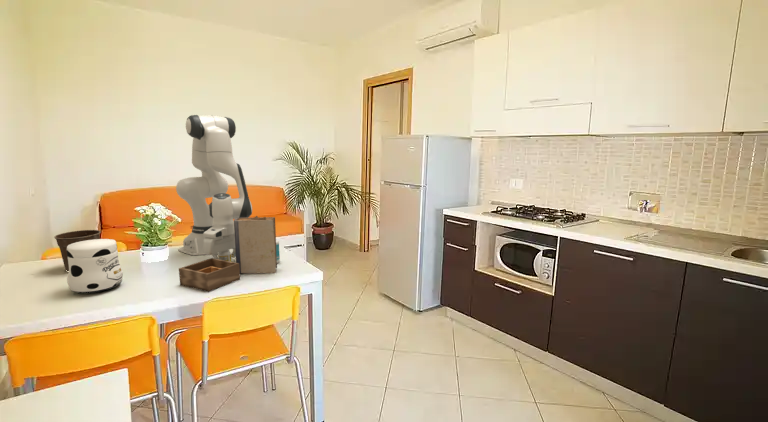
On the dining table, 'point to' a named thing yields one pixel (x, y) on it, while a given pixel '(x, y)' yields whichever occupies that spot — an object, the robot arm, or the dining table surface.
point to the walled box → (209, 274)
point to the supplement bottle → (225, 255)
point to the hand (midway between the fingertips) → (225, 259)
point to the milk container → (93, 266)
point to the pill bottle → (277, 251)
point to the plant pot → (74, 241)
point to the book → (255, 244)
